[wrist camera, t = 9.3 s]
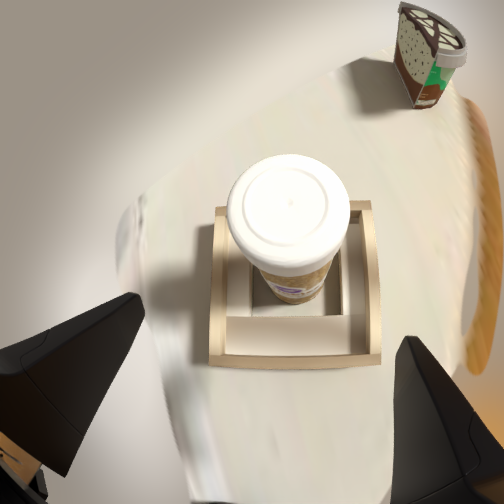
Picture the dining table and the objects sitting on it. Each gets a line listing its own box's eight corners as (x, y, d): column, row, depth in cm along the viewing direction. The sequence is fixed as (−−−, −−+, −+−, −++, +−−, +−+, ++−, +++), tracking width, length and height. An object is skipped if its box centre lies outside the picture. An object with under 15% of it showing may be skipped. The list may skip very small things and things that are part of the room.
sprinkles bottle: (269, 306, 22) (222, 271, 9) (267, 250, 23) (223, 156, 11) (327, 302, 21) (361, 261, 9) (322, 246, 23) (340, 145, 10)
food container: (460, 125, 23) (490, 66, 14) (417, 117, 24) (441, 50, 15) (428, 63, 27) (442, 10, 17) (390, 56, 28) (399, -1, 18)
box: (371, 360, 19) (380, 364, 17) (220, 361, 22) (208, 365, 19) (363, 215, 23) (370, 200, 20) (225, 221, 25) (215, 207, 22)
